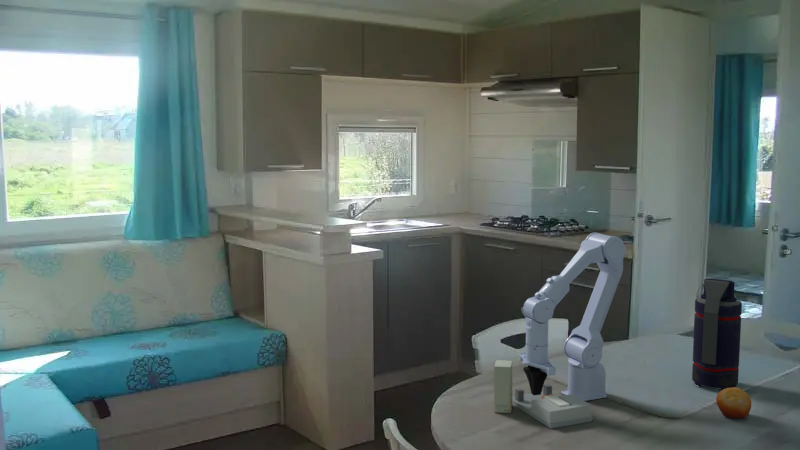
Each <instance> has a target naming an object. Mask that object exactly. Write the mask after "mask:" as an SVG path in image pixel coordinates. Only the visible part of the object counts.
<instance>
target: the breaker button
mask: <svg viewBox="0 0 800 450" xmlns="http://www.w3.org/2000/svg"><path fill="white" fill-rule="evenodd" d="M543 398H545V399H547V400H549V401H550V402H552V403H554V404H555V405H557V406H559V407H566V406H570V404H569V403H567V402H566V401H564V400H562V399H560V398H559V397H558V396H557V395H556V394H554V393H552V394H549V395H543V396H542V399H543Z"/></svg>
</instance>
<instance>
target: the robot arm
mask: <svg viewBox="0 0 800 450" xmlns="http://www.w3.org/2000/svg"><path fill="white" fill-rule="evenodd" d="M579 247H580V248H579V249H578V251H577V252H576V253H575V254H574V256H573V257H572V258H571V260H570V261H569V262H568V264H567V265H566V266H565V267H564V269H563V270H562V271H561V272H560V274H559V275H552V276H551V277H548V278H547V279H546V281H545V282H546V283H545V284H543V286H542V287H541V288H540V289H539V291H537V292H536V293H534V296H532V297H528V298H527V299H526V301H524V303H523V307H521V313H522V314H523V316H524V318H525V352H519V353H518V361H520V362H521V364H522V365H524V367H523V372H524V374H525V376H526V378H527V380H528V384H529V389H530V393H532V394H533V395H541V392H542V391H543V386H544V385H545V384H544V383H545V382H546V380H547V377H548V376H549V377H551V376H555V375H556V374H557V373H556V371H557V370H556V368H557V367H555V366H554V365H553V364H552V363H551V361H550V360H549V321H550V320H551V319H552V318H553V316H554V310H555V309H556V306H557V305H558V304H559V303H560V302H561V301H562V299H564V297H566V295H567V294H569V292H570V284H572V283H573V281H574V280H575V279H576V278H577V277H578V276H579V275H580V274H582V272H583V271H584V270H586V268H587V267H589V265H590V264H597V267H598V269H599V271H600V272H599V273H598V276H597V279H596V281H595V284H594V287H593V290H592V293H591V295H590V298H589V301H588V302H587V303H588V304H587V306H586V308H585V311H584V314H583V317H582V319H581V321H580V324H579V325H578V326H575V328H573V329H572V330H571V333H570V335H569V336H568V337H567V339H565V341H564V343H563V345H562V346H563V354H564V355H565V356H566V357H567V362H568V369H567V370H568V372H567V374H568V375H567V390H566V389H565V390H561V391H560V392H561V394H562V395H568V394H573V395H575V396H576V397H578V398H580V399H582V400H584V401H586V402H587V401H592V400H593V401H594V400H598V399H605V398H607V397H608V395H607V394H606V379H607V378H606V376H607V374H606V369H605V367H604V365H603V363H601V362H600V361H602V356H603V345H604V344H605V342H604V340H603V336H602V335H601V331H602V329H603V325H604V324H605V323H604V322H605V321H606V317H607V314H608V313H609V310H610V307H611V304H612V302H613V298H614V297H615V294H616V291H617V288H618V287H619V283H620V280H621V278H622V275H623V272H624V257H625V255H626V252H627V248H626V246H625V244H624V241H623V240H622V239H621V238H620V237H619V236H615V235H613V236H612V235H608V234H607V235H606V234H603V233H599V232H596V231H595V232H591V233H590V234H588V235H587V236H586V238H585V239H584V240H583V241H582V242H581V243H580V246H579Z"/></svg>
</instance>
